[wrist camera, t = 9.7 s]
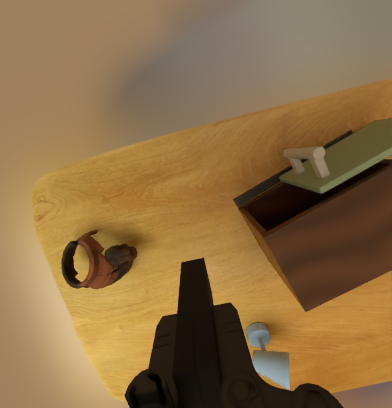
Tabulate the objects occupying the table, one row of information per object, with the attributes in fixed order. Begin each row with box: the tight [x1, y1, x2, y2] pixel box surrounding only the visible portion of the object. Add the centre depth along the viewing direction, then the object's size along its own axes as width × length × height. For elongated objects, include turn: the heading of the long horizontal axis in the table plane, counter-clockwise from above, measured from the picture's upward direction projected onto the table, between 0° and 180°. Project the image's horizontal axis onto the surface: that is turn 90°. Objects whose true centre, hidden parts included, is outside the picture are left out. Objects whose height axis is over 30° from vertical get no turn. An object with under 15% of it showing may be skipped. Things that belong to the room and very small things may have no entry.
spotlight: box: [246, 323, 290, 390], centre depth 35 cm, size 5×10×7 cm
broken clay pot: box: [61, 230, 137, 289], centre depth 31 cm, size 12×10×8 cm
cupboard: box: [233, 130, 392, 312], centre depth 27 cm, size 14×21×12 cm, turn 122°
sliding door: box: [279, 118, 392, 194], centre depth 24 cm, size 5×16×10 cm, turn 122°
